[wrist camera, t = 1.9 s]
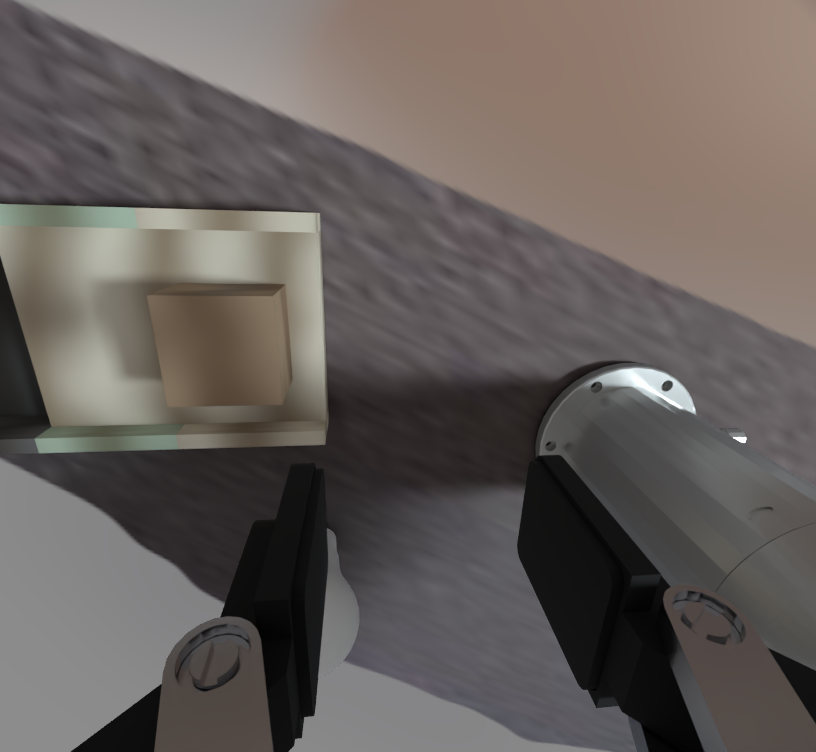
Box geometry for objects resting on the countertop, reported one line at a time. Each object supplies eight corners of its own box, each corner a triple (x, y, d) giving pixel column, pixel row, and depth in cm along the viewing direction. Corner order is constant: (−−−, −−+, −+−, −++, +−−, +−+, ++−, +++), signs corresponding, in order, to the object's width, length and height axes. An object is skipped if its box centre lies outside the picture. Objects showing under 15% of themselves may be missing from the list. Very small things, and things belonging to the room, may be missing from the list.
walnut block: (285, 284, 25) (272, 296, 21) (292, 379, 27) (282, 404, 24) (178, 283, 25) (146, 295, 21) (194, 380, 27) (167, 407, 23)
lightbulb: (300, 490, 33) (273, 616, 22) (372, 516, 34) (377, 645, 24) (270, 549, 34) (231, 692, 24) (339, 571, 36) (332, 714, 25)
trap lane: (319, 213, 26) (314, 212, 23) (328, 420, 31) (325, 444, 27) (-106, 201, 23) (-182, 198, 20) (-23, 428, 28) (-72, 456, 25)
